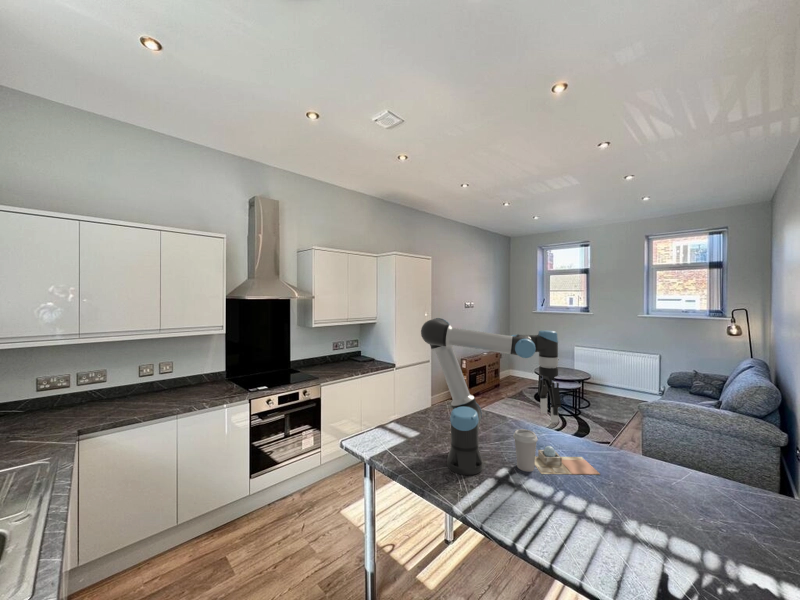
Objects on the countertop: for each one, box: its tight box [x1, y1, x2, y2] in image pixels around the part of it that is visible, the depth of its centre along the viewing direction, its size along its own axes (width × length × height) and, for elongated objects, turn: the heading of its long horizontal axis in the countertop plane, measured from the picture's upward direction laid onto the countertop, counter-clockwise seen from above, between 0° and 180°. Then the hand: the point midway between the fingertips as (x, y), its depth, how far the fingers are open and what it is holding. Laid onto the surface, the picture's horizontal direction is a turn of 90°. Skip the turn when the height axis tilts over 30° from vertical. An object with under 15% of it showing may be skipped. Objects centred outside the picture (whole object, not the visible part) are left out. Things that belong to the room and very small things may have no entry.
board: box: [534, 449, 601, 476], centre depth 132 cm, size 23×14×4 cm, turn 87°
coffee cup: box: [512, 428, 539, 473], centre depth 131 cm, size 10×10×15 cm
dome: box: [543, 445, 556, 457], centre depth 135 cm, size 4×4×5 cm
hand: (549, 417), depth 136 cm, fingers open, 10 cm apart
